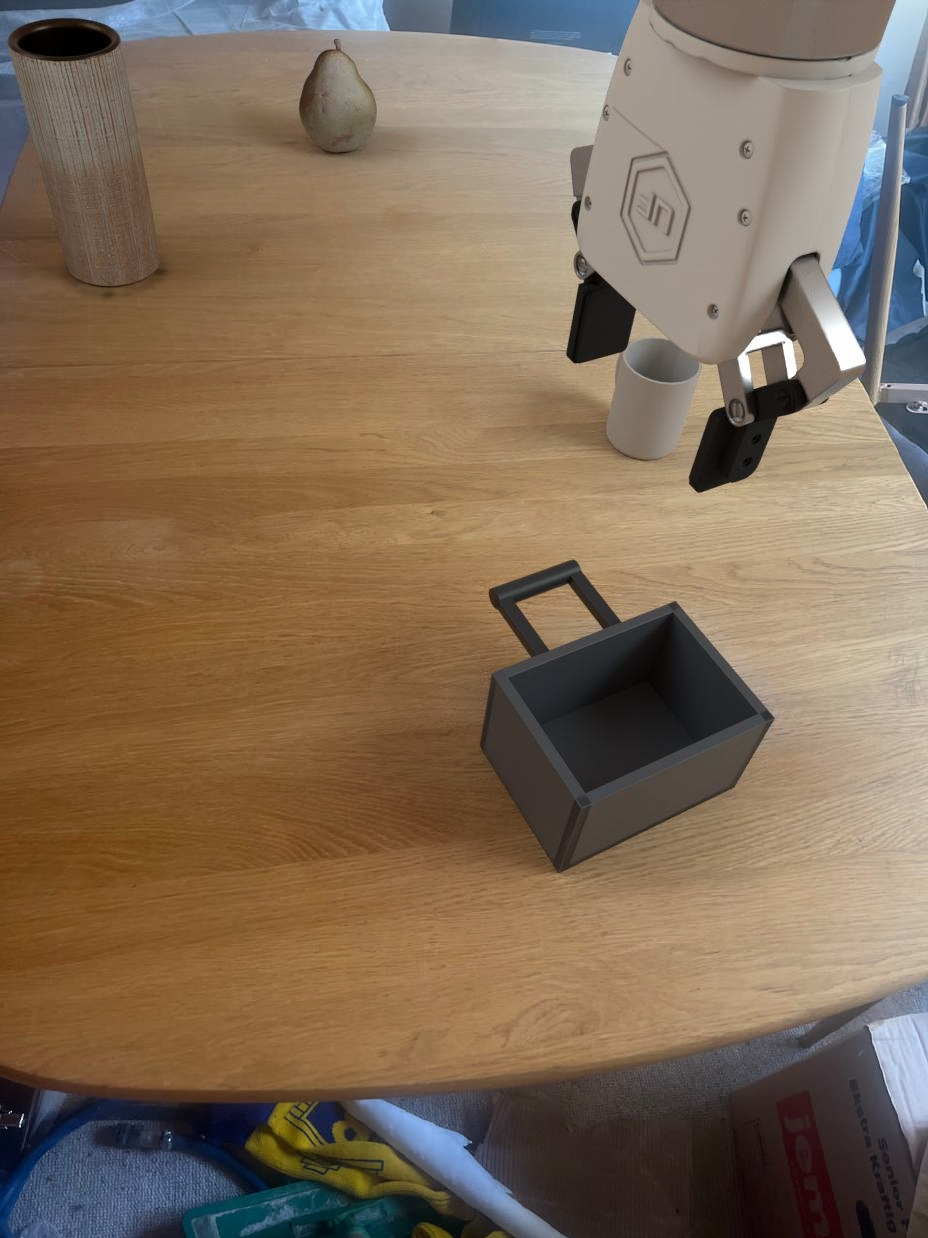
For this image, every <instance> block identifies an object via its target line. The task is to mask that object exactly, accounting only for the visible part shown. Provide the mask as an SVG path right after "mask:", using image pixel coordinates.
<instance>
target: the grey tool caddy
mask: <svg viewBox="0 0 928 1238" xmlns="http://www.w3.org/2000/svg"><path fill="white" fill-rule="evenodd" d="M567 585H569V587H570V588H571V590H572V591H573V592H574V593H575V595H576V596H577V597H578V599H579V600H580V601H581V603H582V604H583V605H584V606H585V608H586V609H587V610H588V612H589V613H590V614H591V615H592V617H593V618H594V619H595V621H596V622H597V623H598V624H599V626H600V627H601V629H600V630H598V631H595V632H593V633H590V634H588V635H585V636H583V637H580V638H578V639H575V640H572V641H570V642H567V643H565V644H562V645H560V646H557V647H555V648H552V649H549V648H548V646H547V645H546V643H545V641H544V640H543V639H542V638H541V636H540V635H539V634H538V632H537V631H536V629H535V628H534V627H533V625H532V624H531V622H530V620H528V618H527V617H526V616H525V614H524V613H523V611H522V610H521V609H520V607H519V606H518V605H517V603H520V602H522V601H525V600H528V599H531V598H533V597H536V596H539V595H541V594H544V593H548V592H550V591H553V590H556V589H559V588H561V587H564V586H567ZM488 597H489V602H490V604H491V605H492V607H493V608H494V609H495V610H497V611H498V612H499V614H500V615H501V617H502V618H503V619H504V621H505V622H506V624H507V625H508V626H509V628H510V629H511V631H512V632H513V633H514V635H515V637H516V638H517V640H518V641H519V642H520V644H521V646H522V647H523V648H524V650H525V651H526V653H527V654H528V655H529V658H526V659H523V660H521V661H518V662H516V663H514V664H511V665H508V666H506V667H503V668H500V669H498V670H496V671H493V672H492V673H491V676H490V681H489V688H488V693H487V699H486V705H485V711H484V717H483V723H482V729H481V734H480V735H481V736H480V741H479V747H480V749H481V750H482V752H483V753H484V755H485V757H486V758H487V760H488V762H489V763H490V765H491V767H492V768H493V770H494V772H495V773H496V775H497V776H498V778H499V779H500V781H501V783H502V784H503V786H504V788H505V790H506V791H507V793H508V794H509V796H510V797H511V799H512V800H513V802H514V804H515V805H516V807H517V809H518V811H519V812H520V814H521V815H522V817H523V819H524V820H525V822H526V824H527V825H528V826H529V829H530V830H531V831H532V833H533V834H534V836H535V838H536V840H537V841H538V842H539V844H540V846H541V847H542V850H543V851H544V852H545V854H546V855H547V858H548V859H549V860H550V862H551V863H552V865H553V867H554V869H555V870H556V872H557V873H558V874H561V873H563V872H565V871H567V870H569V869H571V868H574V867H575V866H577V865H579V864H581V863H583V862H585V861H587V860H589V859H591V858H594V857H595V856H598V855H600V854H601V853H604V852H606V851H608V850H609V849H611V848H614V847H616V846H618V845H620V844H622V843H624V842H626V841H628V840H630V839H632V838H634V837H636V836H638V835H640V834H642V833H645V832H646V831H648V830H651V829H652V828H654V827H657V826H659V825H660V824H662V823H665V822H667V821H669V820H671V819H673V818H675V817H677V816H679V815H681V814H683V813H685V812H687V811H689V810H691V809H693V808H695V807H698V806H699V805H702V804H703V803H706V802H708V801H710V800H711V799H713V798H716V797H718V796H720V795H721V794H724V793H726V792H728V791H730V790H732V789H735V787H736V785H737V784H738V782H739V781H740V779H741V777H742V775H743V774H744V772H745V770H746V768H747V767H748V765H749V764H750V762H751V760H752V758H753V757H754V755H755V754H756V751H757V750H758V748H759V746H760V745H761V743H762V742H763V740H764V738H765V736H766V735H767V733H768V731H769V729H770V727H772V724H773V722H774V721H775V719H776V718H775V716H774V715H773V714H772V712H770V710H769V709H768V708H767V707H766V705H764V703H763V702H762V701H761V700H760V699H759V698H758V696H757V695H756V694H755V692H754V691H753V690H752V689H751V687H749V686H748V684H747V683H746V682H745V681H744V680H743V678H742V677H741V676H740V675H739V674H738V673H737V671H736V670H735V669H734V668H733V666H731V664H730V663H729V662H728V661H727V660H726V659H725V657H724V656H723V655H722V654H721V652H720V651H719V650H718V649H717V648H716V647H715V645H714V644H713V643H712V642H711V640H709V638H708V637H707V636H706V635H705V634H704V633H703V631H702V630H701V629H700V628H699V627H698V625H697V624H696V623H695V622H694V620H693V619H692V618H691V617H690V616H689V615H688V613H687V612H686V611H685V610H684V608H683V607H682V606H681V605H680V604H679V603H678V602H677V601H676V600H674V601H671V602H669V603H666V604H664V605H662V606H659V607H657V608H654V609H652V610H651V609H650V610H649V611H646V612H644V613H641V614H639V615H636V616H634V617H631V618H628V619H625V620H624V621H622V620H621V619H620V618H619V616H618V615H617V614H616V613H615V611H614V610H613V609H612V607H610V605H609V604H608V603H607V601H606V600H605V599H604V597H603V596H602V595H601V594H600V592H598V590H597V589H596V588H595V586H594V585H593V584H592V582H591V581H590V580H589V579H588V577H587V576H586V574H584V572H583V571H582V568H581V566H580V564H579V562H578V561H577V560H576V559H574V558H573V559H570V560H569V559H568V560H567V561H566V560H565V561H564V562H561V563H558V564H555V565H552V566H550V567H547V568H544V569H541V570H539V571H536V572H532V573H530V574H527V575H524V576H522V577H519V578H516V579H514V580H510V581H507V582H505V583H502V584H500V585H497V586H494V587H491V588H489V590H488Z"/></svg>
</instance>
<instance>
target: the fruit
mask: <svg viewBox="0 0 928 1238" xmlns="http://www.w3.org/2000/svg"><path fill="white" fill-rule="evenodd" d="M333 44H334V45H335V48H332V49H330V48H329V49H325V50H323V51H322V52H320V53H319V55H318V56H317V57H316V59H315V61H314V65H313V68H312V69H311V72H310V73H309V75H308V76H307V77H306V79H305V81H304V83H303V86H302V90H301V94H300V98H299V103H298V113H299V119H300V122H301V124H302V127H303V129H304V131H305V132H306V133H307V135H308V136H309V137H310V138H311V139H312V141H313V143H314V144H315V145H316V146H318V147H319V148H320V149H321V150H324V151H327V152H329V153H342V152H345V153H346V152H351V151H356V150H358V149H360V148H362V147H364V145H365V144H366V143H367V141H368V140H369V138H370V137H371V135H372V133H373V131H374V129H375V126H376V122H377V116H378V106H377V102H376V101H377V100H376V98H375V96H374V93H373V91H372V89H371V88H370V86H369V85H368V84H367V82H365V80H364V79H363V78H362V77H361V75H360V73H359V70H358V67H357V65H356V63H355V61H354V60H353V59H352V58H351V56H349V55H348V54H347V53H345V52H344V51H343V50H342V47H341V46H342V45H341V39H339V38H335V39H334V40H333Z"/></svg>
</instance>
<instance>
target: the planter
mask: <svg viewBox="0 0 928 1238" xmlns="http://www.w3.org/2000/svg"><path fill="white" fill-rule="evenodd" d="M6 43H7V48H8V51H9V56H10V60H11V63H12V66H13V70H14V74H15V77H16V82H17V85H18V89H19V93H20V96H21V100H22V104H23V107H24V111H25V115H26V120H27V123H28V127H29V130H30V134H31V139H32V142H33V146H34V150H35V153H36V158H37V161H38V165H39V168H40V172H41V176H42V179H43V183H44V188H45V191H46V195H47V198H48V202H49V206H50V210H51V213H52V218H53V221H54V224H55V229H56V231H57V236H58V240H59V243H60V248H61V251H62V256H63V259H64V262H65V265H66V267H67V270H68V272H69V273H70V275H72V276H73V277H74V278H75V279H77V280H79V281H81V282H84V283H86V284H89V285H94V286H99V287H119V286H126V285H131V284H134V283H137V282H140V281H143V280H144V279H146V278H147V277H149V276H151V275H152V274H153V273H155V271H157V269H158V268H159V266H160V264H161V254H160V246H159V241H158V235H157V230H156V224H155V218H154V214H153V213H154V212H153V208H152V207H153V206H152V203H151V197H150V196H151V195H150V192H149V186H148V181H147V175H146V169H145V164H144V159H143V152H142V148H141V142H140V137H139V131H138V126H137V120H136V115H135V110H134V103H133V99H132V93H131V87H130V82H129V81H130V80H129V76H128V71H127V65H126V60H125V55H124V48H123V44H122V39H121V36H120V34H119V33H118V31H116V29H114V28H113V27H111V26H109V25H107V24H105V23H102V22H100V21H96V20H92V19H85V18H77V17H55V18H46V19H45V18H44V19H40V20H35V21H32V22H28V23H25V24H23V25H21V26H18V27H17V28H15V29H14V30H13V31H12V32H10V34H9V35H8V37H7V42H6Z"/></svg>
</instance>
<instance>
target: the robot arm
mask: <svg viewBox="0 0 928 1238" xmlns="http://www.w3.org/2000/svg"><path fill="white" fill-rule="evenodd" d="M896 2H897V0H639V2H638V4H637V6H636V9H635V12H634V14H633V16H632V18H631V20H630V23H629V26H628V28H627V30H626V34H625V36H624V39H623V41H622V43H621V44H622V45H621V47H620V51H619V53H618V56H617V59H616V62H615V65H614V68H613V71H612V75H611V77H610V81H609V85H608V88H607V91H606V95H605V99H604V103H603V105H602V110H601V113H600V116H599V121H598V125H597V129H596V134H595V137H594V141H593V144H589V145H588V144H587V145H583V146H577V147H574V148H572V150H571V151H570V156H569V163H570V174H571V183H572V194H573V195H572V196H573V198H575V199H576V201H574V202H573V203H572V206H571V211H570V218H571V221H572V226H573V229H574V233H575V237H576V243H577V246H578V248H579V250H578V251H577V252H576V253H575V254H574V257H573V262H572V264H573V270H574V272H575V276H576V277H577V279H579V280H581V281H583V282H581V283H578V287H577V291H576V297H575V301H574V302H575V303H574V308H573V312H572V318H571V325H570V328H569V329H570V330H569V335H568V340H567V346H566V352H565V355H566V357H567V358H568V359H569V360H570V362H572V364H575V365H576V364H584V363H587V362H591V361H595V360H598V359H602V358H606V357H610V356H614V355H617V354H620V353H621V352H623V351H625V350H626V348H627V346H628V343H629V342H630V337H631V333H632V329H633V325H634V321H635V316H636V312H637V311H638V312H639V313H640V314H641V315H642V316H643V317H644V318H645V319H646V320H647V321H648V322H649V323H651V324H652V326H653V327H655V329H657V330H658V331H659V332H660V333H662V335H663V336H665V338H667V339H669V340H670V341H671V342H673V343H674V344H675V345H676V346H677V347H678V348H680V349H681V350H682V351H683V352H684V353H686V354H687V355H688V356H690V357H691V358H693V359H694V360H696V361H698V362H700V363H702V365H706V366H707V365H708V366H714V365H717V372H718V376H719V384H720V389H721V393H722V399H723V404H724V406H721V407H718V408H715V409H713V410H712V412H711V413H710V414H709V415H708V418H707V422H706V424H705V427H704V430H703V433H702V435H701V438H700V442H699V445H698V448H697V451H696V454H695V457H694V459H693V463H692V466H691V469H690V471H689V475H688V485H689V487H691V488H692V489H693V490H694V492H695V493H697V494H701V493H704V492H707V491H710V490H713V489H716V488H718V487H722V486H724V485H727V484H730V483H731V484H734V483H738V482H741V481H743V480H745V479H748V478H749V477H750V476H752V475H753V474H754V473H755V472H756V470H757V469H758V468H759V465H760V463H761V460H762V457H763V456H764V454H765V450H766V448H767V445H768V443H769V441H770V438H771V436H772V433H773V430H774V428H775V425H776V424H777V421H778V418H781V417H785V416H789V415H793V414H796V413H799V412H802V411H805V410H809V409H811V408H814V407H818V406H820V405H823V404H826V403H827V402H828V401H829V399H830V397H831V396H834V395H836V394H837V393H839V392H840V391H842V390H843V389H844V388H846V387H847V386H848V385H850V384H851V383H852V382H854V381H856V379H858V378H859V377H860V376H862V375H863V374H864V373H865V371H866V368H867V360H866V359H867V358H866V356H865V353H864V352H863V350H862V347H861V345H860V344H859V342H858V339H857V338H856V336H855V334H854V331H853V330H852V327H851V325H850V323H849V322H848V319H847V318H846V315H845V313H844V311H843V309H842V308H841V305H840V304H839V300H838V299H837V297H836V295H835V293H834V292H833V289H832V287H831V285H830V284H829V278H830V275H831V272H832V271H833V267H834V264H835V262H836V259H837V256H838V253H839V250H840V248H841V244H842V242H843V239H844V235H845V232H846V229H847V227H848V222H849V219H850V217H851V213H852V211H853V206H854V203H855V199H856V196H857V192H858V189H859V186H860V182H861V179H862V174H863V170H864V167H865V164H866V163H865V162H866V158H867V155H868V150H869V147H870V142H871V137H872V133H873V128H874V123H875V120H876V115H877V110H878V104H879V98H880V92H881V88H882V81H883V75H884V68H883V67H882V66H881V65H879V63H877V62H876V61H875V59H876V57H877V55H878V52H879V49H880V46H881V44H882V41H883V38H884V35H885V32H886V30H887V26H888V24H889V22H890V18H891V16H892V13H893V10H894V7H895V5H896ZM794 342H797V343H798V344H799V346H800V349H801V352H802V354H803V362H802V366H801V367H800V368H797V362H796V356H795V349H794ZM759 351H760V352H761V359H762V362H763V370H764V376H765V381H766V384H765V385H762V386H759V387H755V386H754V383H753V376H752V369H751V365H750V360H749V354H752V353H756V352H759ZM754 387H755V388H754Z"/></svg>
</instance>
